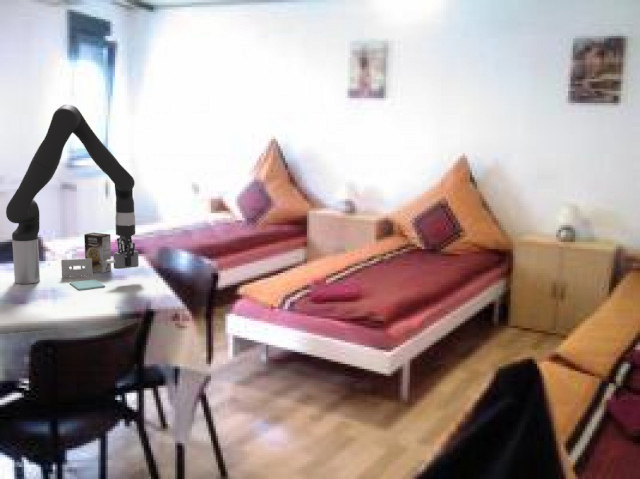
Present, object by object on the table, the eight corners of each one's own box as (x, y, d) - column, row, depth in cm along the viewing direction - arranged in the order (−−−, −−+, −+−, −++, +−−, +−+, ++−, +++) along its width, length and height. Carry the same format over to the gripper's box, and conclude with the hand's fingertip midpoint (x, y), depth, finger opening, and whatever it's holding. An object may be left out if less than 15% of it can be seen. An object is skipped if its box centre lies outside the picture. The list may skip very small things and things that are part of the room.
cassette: (61, 278, 269) (61, 260, 268) (62, 277, 271) (61, 259, 270) (92, 277, 273) (92, 259, 272) (92, 276, 275) (92, 258, 274)
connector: (105, 268, 261) (104, 253, 260) (136, 264, 269) (136, 250, 268) (108, 270, 258) (108, 255, 257) (140, 266, 266) (139, 252, 265)
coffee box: (84, 271, 282) (83, 234, 280) (94, 268, 288) (93, 232, 286) (102, 273, 280) (101, 236, 277) (112, 270, 286) (110, 233, 283)
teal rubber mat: (69, 283, 261) (69, 282, 261) (94, 280, 267) (94, 279, 266) (78, 290, 251) (78, 288, 251) (104, 287, 257) (104, 285, 257)
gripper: (109, 221, 265) (110, 262, 268) (122, 226, 253) (123, 269, 257) (127, 220, 269) (128, 260, 272) (141, 225, 258) (142, 267, 261)
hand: (126, 265), depth 264 cm, fingers closed on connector, 4 cm apart
